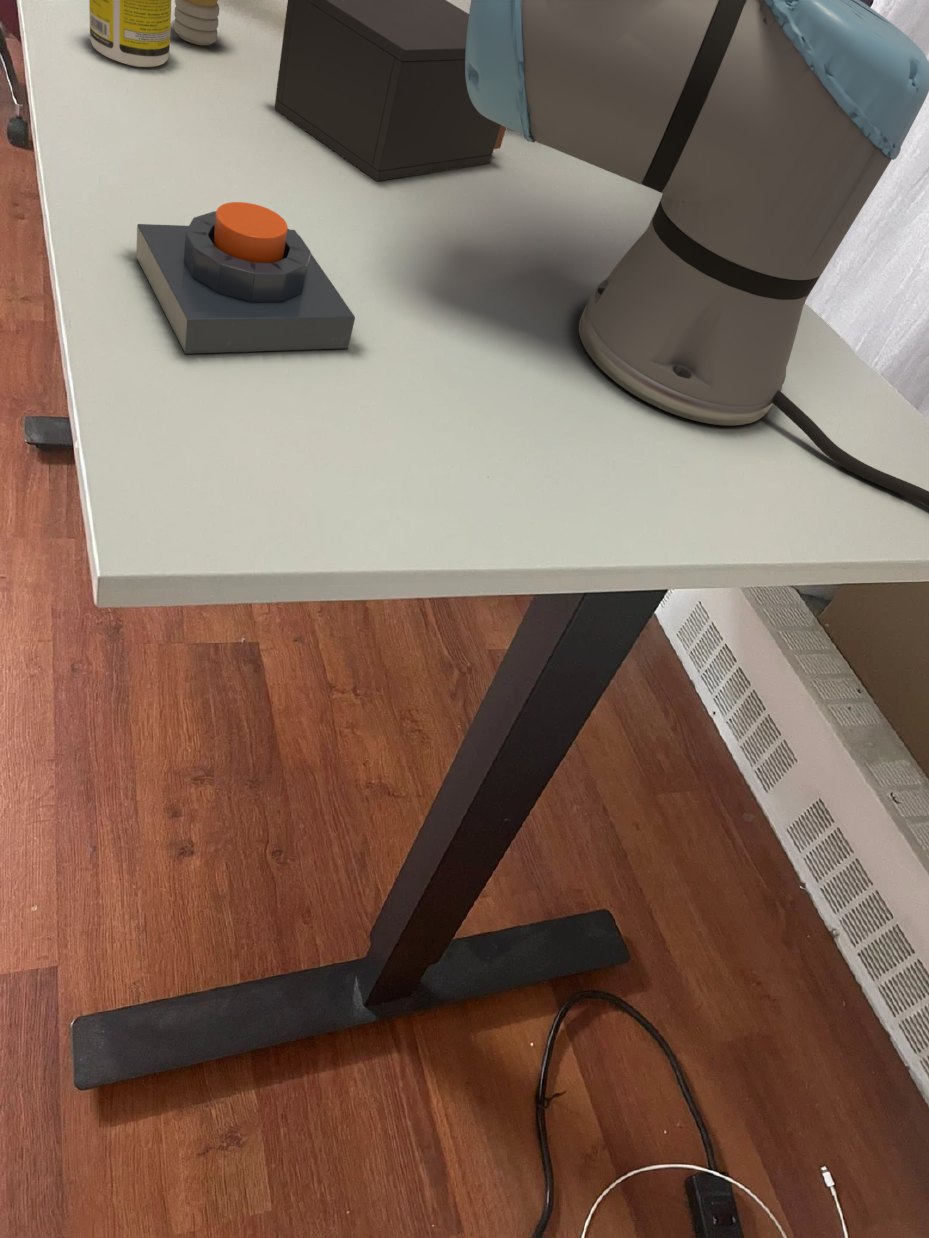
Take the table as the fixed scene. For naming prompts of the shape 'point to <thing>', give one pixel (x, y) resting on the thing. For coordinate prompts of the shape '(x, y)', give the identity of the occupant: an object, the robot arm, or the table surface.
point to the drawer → (500, 137)
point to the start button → (250, 232)
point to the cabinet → (383, 84)
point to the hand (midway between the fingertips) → (477, 87)
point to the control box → (240, 293)
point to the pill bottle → (131, 30)
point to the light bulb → (197, 20)
